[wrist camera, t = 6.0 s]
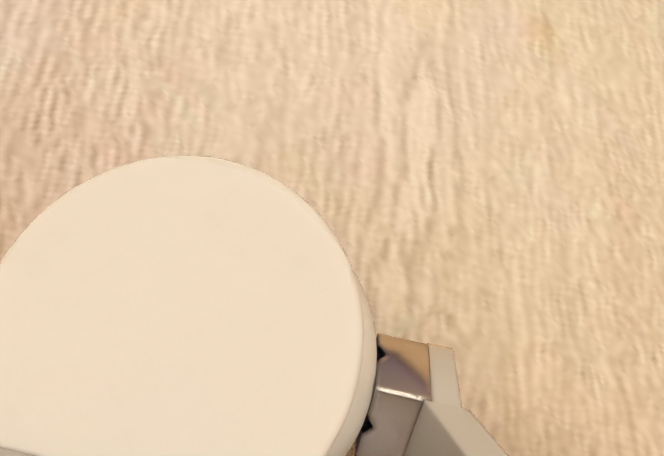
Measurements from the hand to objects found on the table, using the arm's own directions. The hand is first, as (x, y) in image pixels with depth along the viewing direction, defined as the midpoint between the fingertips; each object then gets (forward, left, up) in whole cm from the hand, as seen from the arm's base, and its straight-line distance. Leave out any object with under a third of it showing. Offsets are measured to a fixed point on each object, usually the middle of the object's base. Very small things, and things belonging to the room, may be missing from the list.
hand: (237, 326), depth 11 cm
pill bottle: (-1, 0, -6) cm, 6 cm away
